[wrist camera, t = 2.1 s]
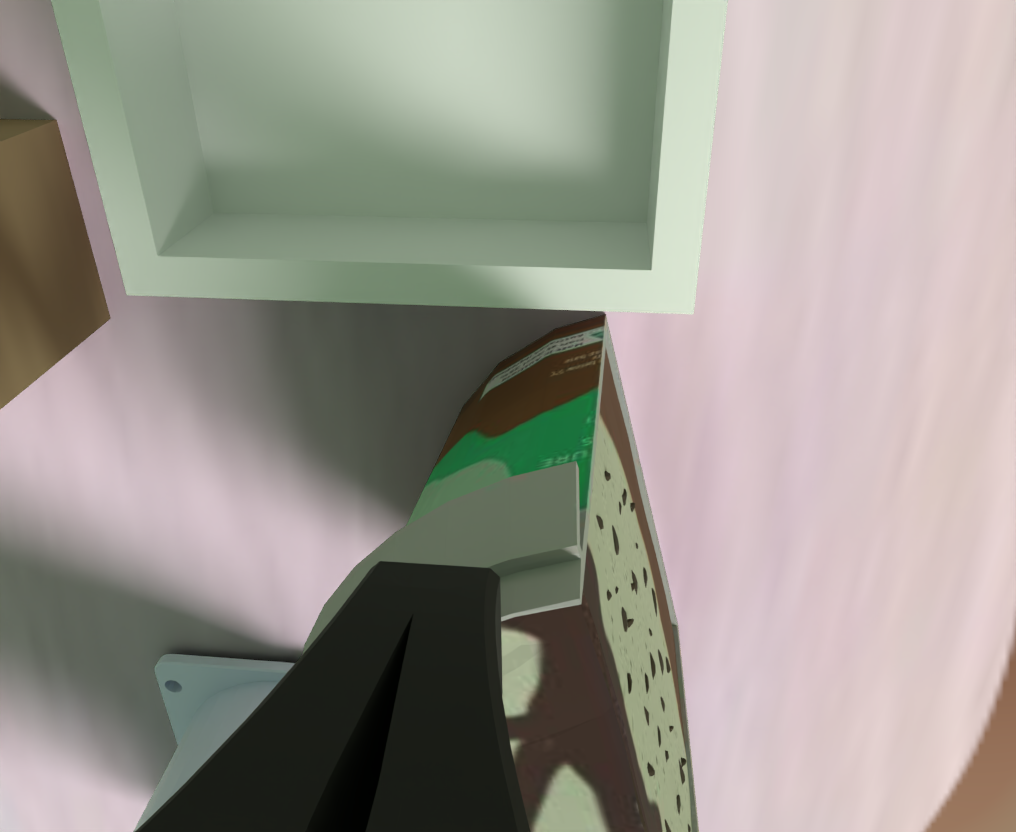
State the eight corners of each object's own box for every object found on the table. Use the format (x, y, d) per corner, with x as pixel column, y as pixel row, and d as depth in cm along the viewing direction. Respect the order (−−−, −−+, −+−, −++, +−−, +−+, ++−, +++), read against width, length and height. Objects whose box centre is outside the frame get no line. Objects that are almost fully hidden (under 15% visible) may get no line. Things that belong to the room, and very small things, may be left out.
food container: (323, 308, 19) (94, 629, 11) (591, 249, 18) (569, 562, 9) (476, 686, 25) (406, 1089, 17) (687, 664, 24) (728, 1089, 15)
